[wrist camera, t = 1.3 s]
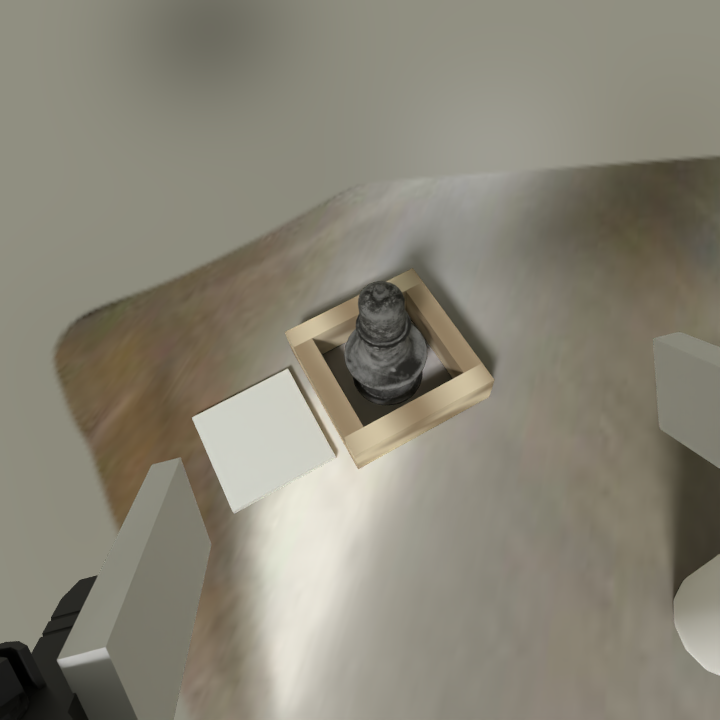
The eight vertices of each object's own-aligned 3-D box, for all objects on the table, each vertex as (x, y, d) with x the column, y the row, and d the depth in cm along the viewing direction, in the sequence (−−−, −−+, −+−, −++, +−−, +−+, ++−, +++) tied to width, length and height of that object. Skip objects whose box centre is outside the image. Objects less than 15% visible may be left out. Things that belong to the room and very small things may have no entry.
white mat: (289, 371, 46) (287, 368, 45) (336, 458, 42) (335, 456, 42) (194, 420, 44) (192, 417, 44) (234, 513, 41) (232, 511, 40)
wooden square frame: (412, 289, 48) (412, 267, 45) (489, 396, 43) (494, 379, 41) (292, 350, 46) (285, 332, 44) (358, 469, 42) (354, 456, 39)
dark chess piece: (357, 334, 47) (341, 239, 36) (431, 344, 46) (437, 249, 35) (341, 402, 44) (319, 321, 33) (419, 414, 43) (422, 335, 32)
